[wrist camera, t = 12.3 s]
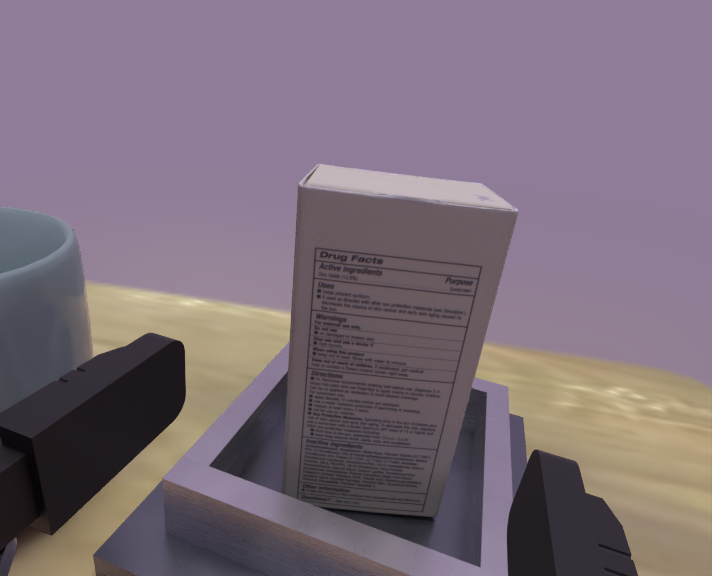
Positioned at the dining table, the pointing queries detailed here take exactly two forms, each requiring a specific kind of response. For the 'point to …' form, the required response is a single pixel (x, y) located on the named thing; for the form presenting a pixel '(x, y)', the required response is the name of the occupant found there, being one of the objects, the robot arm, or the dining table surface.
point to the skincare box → (386, 333)
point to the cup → (39, 303)
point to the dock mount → (311, 523)
